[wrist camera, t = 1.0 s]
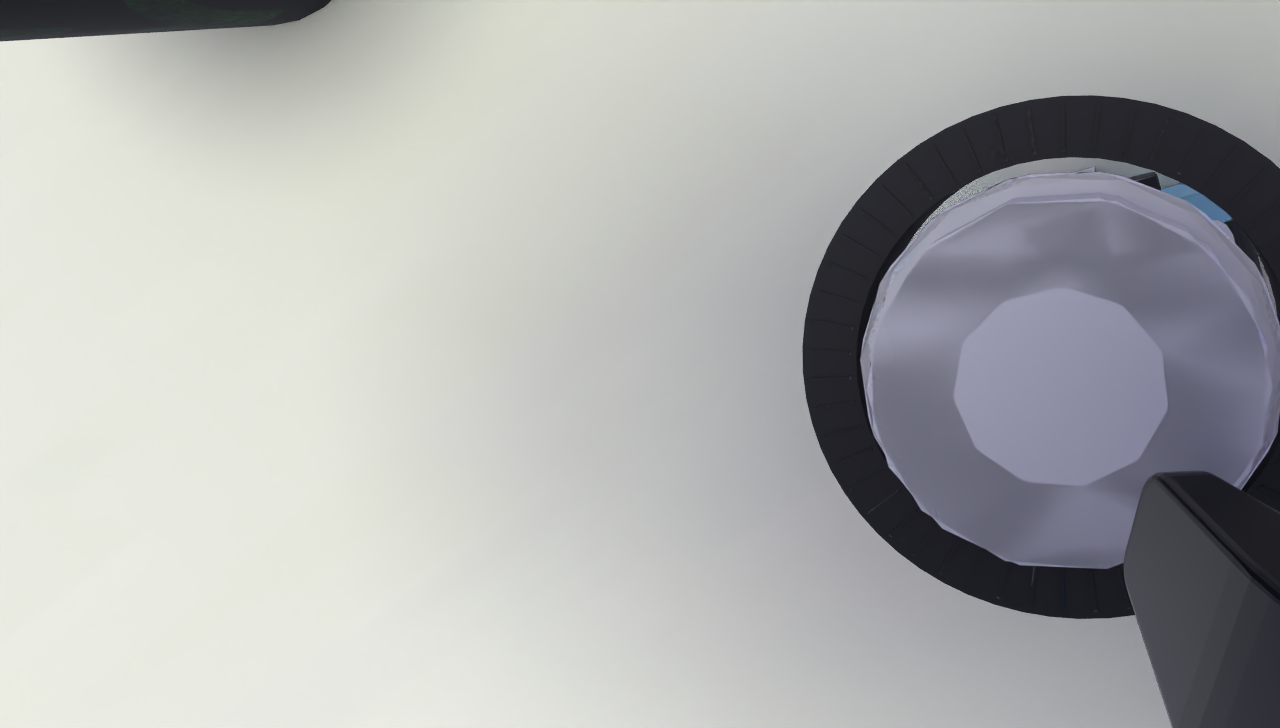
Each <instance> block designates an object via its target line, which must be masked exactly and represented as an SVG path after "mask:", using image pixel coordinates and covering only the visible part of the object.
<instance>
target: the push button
mask: <svg viewBox="0 0 1280 728" xmlns="http://www.w3.org/2000/svg"><path fill="white" fill-rule="evenodd" d="M1066 157H1082V158H1101V159H1107V160H1113V161H1119V162H1125V163H1129V164H1133V165H1136V166H1140V167H1143V168H1147V169H1150V170H1154V171H1156V172H1158V173H1161V174H1163V175H1166V176H1168V177H1170V178H1173V179H1175V180H1177V181H1180V182H1181V184H1178V185H1174V186H1170V187H1167V188H1163V189H1161V188H1160V184H1159V180H1158V176H1157V174H1156V173H1155V172H1151V173H1146V174H1142V175H1138V176H1135V177H1131V178H1126V177H1123V176H1119V175H1114V174H1109V173H1103V172H1096V167H1092V168H1088V169H1084V170H1080V171H1077V172H1073V173H1053V174H1030V175H1025V176H1021V177H1016V178H1011V179H1007V180H1005V181H1003V182H1001V183H999V184H997V185H995V186H993V187H990V188H988V189H986V190H984V191H982V192H980V193H978V194H976V195H974V196H971V197H969V198H967V199H965V200H963V201H961V202H959V203H957V204H954V205H952V206H950V207H948V208H947V209H945V210H944V211H943V212H941V213H940V214H938V215H937V216H936V217H934V218H933V219H931V220H930V221H929V222H928V224H927V225H926V226H925V227H924V228H923V229H922V231H921V232H920V233H919V234H918V235H917V236H916V237H915V239H914V240H913V241H912V242H911V243H910V244H909V242H910V241H911V239H912V238H913V236H914V234H915V233H916V232H917V230H918V229H919V228H920V227H921V226H922V224H923V223H924V222H925V221H926V219H927V218H928V217H929V216H930V215H931V214H932V213H933V212H934V211H935V210H936V209H937V208H938V207H939V206H940V205H941V204H942V203H943V202H944V201H945V200H947V199H948V198H949V197H950V196H952V195H953V194H954V193H956V192H957V191H958V190H960V189H961V188H962V187H964V186H965V185H967V184H969V183H970V182H972V181H974V180H975V179H978V178H980V177H982V176H984V175H987V174H989V173H991V172H994V171H997V170H1000V169H1003V168H1007V167H1010V166H1013V165H1016V164H1020V163H1026V162H1031V161H1036V160H1042V159H1051V158H1066ZM908 244H909V245H908ZM907 245H908V247H907ZM906 247H907V248H906ZM1257 253H1258V255H1259V256H1260V258H1261V261H1262V263H1263V265H1264V268H1265V270H1266V273H1267V275H1268V277H1269V280H1270V284H1271V287H1272V291H1273V295H1274V298H1275V302H1276V310H1277V316H1276V313H1275V310H1274V307H1273V304H1272V301H1271V298H1270V295H1269V292H1268V289H1267V286H1266V283H1265V281H1264V278H1263V275H1262V271H1261V267H1260V263H1259V259H1258V255H1257ZM1277 318H1278V319H1277ZM803 375H804V383H805V391H806V399H807V403H808V407H809V412H810V416H811V420H812V424H813V427H814V430H815V433H816V436H817V439H818V441H819V444H820V447H821V449H822V452H823V454H824V456H825V458H826V460H827V462H828V464H829V467H830V469H831V471H832V473H833V474H834V476H835V478H836V479H837V481H838V483H839V484H840V486H841V488H842V489H843V491H844V493H845V494H846V496H847V497H848V498H849V500H850V501H851V502H852V504H853V505H854V506H855V508H856V509H857V510H858V512H859V513H860V514H861V516H862V517H863V518H864V519H865V520H866V521H867V522H868V523H869V524H870V526H871V527H872V528H873V529H874V530H875V531H876V532H877V533H878V534H879V535H880V536H881V537H882V538H883V539H884V540H885V541H886V542H888V543H889V544H890V545H891V546H892V547H893V548H894V549H895V550H896V551H897V552H899V553H900V554H901V555H903V556H904V557H905V558H907V559H908V560H909V561H911V562H912V563H913V564H915V565H916V566H917V567H919V568H920V569H922V570H923V571H925V572H927V573H928V574H930V575H932V576H933V577H935V578H937V579H938V580H940V581H942V582H943V583H945V584H947V585H949V586H951V587H954V588H956V589H958V590H960V591H962V592H964V593H966V594H968V595H971V596H973V597H976V598H979V599H981V600H984V601H987V602H989V603H992V604H995V605H999V606H1002V607H1006V608H1010V609H1013V610H1017V611H1021V612H1026V613H1032V614H1038V615H1044V616H1050V617H1062V618H1076V619H1091V618H1113V617H1122V616H1131V615H1135V612H1134V609H1133V606H1132V603H1131V600H1130V597H1129V594H1128V591H1127V587H1126V584H1125V578H1124V556H1125V551H1126V547H1127V544H1128V540H1129V536H1130V532H1131V529H1132V525H1133V521H1134V517H1135V514H1136V510H1137V506H1138V502H1139V499H1140V495H1141V491H1142V489H1143V486H1144V484H1145V482H1146V481H1147V479H1148V478H1149V477H1150V476H1151V475H1153V474H1155V473H1158V472H1170V471H1195V470H1200V471H1206V472H1210V473H1212V474H1214V475H1216V476H1218V477H1219V478H1221V479H1223V480H1224V481H1226V482H1228V483H1230V484H1231V485H1233V486H1235V487H1237V488H1238V489H1240V490H1242V491H1244V492H1245V493H1247V494H1249V495H1251V496H1252V497H1254V498H1256V499H1257V500H1259V501H1261V502H1263V503H1264V504H1266V505H1268V506H1270V507H1271V508H1273V509H1275V510H1277V511H1278V512H1280V169H1279V168H1278V167H1277V166H1276V165H1275V164H1274V163H1273V162H1272V161H1271V160H1269V159H1268V158H1267V157H1265V156H1264V155H1262V154H1261V153H1260V152H1258V151H1257V150H1255V149H1254V148H1253V147H1251V146H1250V145H1248V144H1247V143H1246V142H1244V141H1242V140H1241V139H1239V138H1237V137H1235V136H1233V135H1232V134H1230V133H1228V132H1226V131H1224V130H1223V129H1221V128H1219V127H1217V126H1215V125H1213V124H1211V123H1208V122H1206V121H1204V120H1201V119H1199V118H1196V117H1194V116H1192V115H1189V114H1187V113H1184V112H1181V111H1177V110H1174V109H1171V108H1167V107H1164V106H1161V105H1157V104H1153V103H1148V102H1142V101H1137V100H1132V99H1126V98H1117V97H1105V96H1059V97H1051V98H1043V99H1034V100H1028V101H1024V102H1020V103H1015V104H1011V105H1007V106H1002V107H999V108H996V109H993V110H990V111H987V112H984V113H981V114H978V115H975V116H972V117H970V118H968V119H966V120H964V121H961V122H959V123H957V124H955V125H953V126H950V127H948V128H946V129H944V130H942V131H941V132H939V133H937V134H936V135H934V136H932V137H931V138H929V139H927V140H926V141H924V142H922V143H920V144H919V145H918V146H916V147H915V148H914V149H912V150H911V151H909V152H908V153H907V154H905V155H904V156H903V157H901V158H900V159H899V160H897V161H896V162H895V163H894V164H893V165H892V166H891V167H890V168H888V169H887V170H886V171H885V172H884V173H883V174H882V175H881V176H880V177H879V178H877V179H876V180H875V182H874V183H873V184H872V185H871V186H870V187H869V188H868V189H867V191H866V192H865V193H864V194H863V195H862V196H861V197H860V198H859V200H858V201H857V202H856V203H855V205H854V206H853V208H852V209H851V210H850V212H849V213H848V215H847V216H846V217H845V219H844V220H843V222H842V223H841V225H840V227H839V228H838V230H837V232H836V234H835V235H834V237H833V239H832V241H831V242H830V244H829V246H828V248H827V251H826V253H825V255H824V257H823V260H822V262H821V264H820V267H819V269H818V272H817V275H816V278H815V281H814V284H813V288H812V291H811V294H810V298H809V303H808V308H807V313H806V318H805V326H804V338H803Z"/></svg>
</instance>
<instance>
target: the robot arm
mask: <svg viewBox="0 0 1280 728" xmlns="http://www.w3.org/2000/svg"><path fill="white" fill-rule="evenodd" d="M1124 578H1125V584H1126V587H1127V591H1128V594H1129V597H1130V600H1131V603H1132V606H1133V609H1134V612H1135V615H1136V618H1137V621H1138V625H1139V628H1140V631H1141V634H1142V637H1143V640H1144V643H1145V646H1146V649H1147V652H1148V655H1149V658H1150V661H1151V664H1152V667H1153V670H1154V673H1155V676H1156V679H1157V683H1158V686H1159V689H1160V692H1161V695H1162V698H1163V701H1164V704H1165V707H1166V710H1167V713H1168V716H1169V719H1170V722H1171V725H1172V728H1280V512H1278V511H1277V510H1275V509H1273V508H1271V507H1270V506H1268V505H1266V504H1264V503H1263V502H1261V501H1259V500H1257V499H1256V498H1254V497H1252V496H1251V495H1249V494H1247V493H1245V492H1244V491H1242V490H1240V489H1238V488H1237V487H1235V486H1233V485H1231V484H1230V483H1228V482H1226V481H1224V480H1223V479H1221V478H1219V477H1218V476H1216V475H1214V474H1212V473H1210V472H1206V471H1200V470H1195V471H1170V472H1158V473H1155V474H1153V475H1151V476H1150V477H1149V478H1148V479H1147V481H1146V482H1145V484H1144V486H1143V489H1142V491H1141V495H1140V499H1139V502H1138V506H1137V510H1136V514H1135V517H1134V521H1133V525H1132V529H1131V532H1130V536H1129V540H1128V544H1127V547H1126V551H1125V556H1124Z"/></svg>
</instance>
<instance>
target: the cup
mask: <svg viewBox="0 0 1280 728" xmlns="http://www.w3.org/2000/svg"><path fill="white" fill-rule="evenodd" d="M330 1H331V0H0V41H14V40H31V39H48V38H65V37H82V36H99V35H116V34H133V33H150V32H167V31H184V30H201V29H218V28H235V27H252V26H269V25H276V24H282V23H287V22H292V21H297V20H300V19H302V18H304V17H306V16H308V15H310V14H311V13H313V12H315V11H317V10H319V9H321V8H323V7H324V6H325V5H326V4H328V3H329V2H330Z"/></svg>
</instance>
